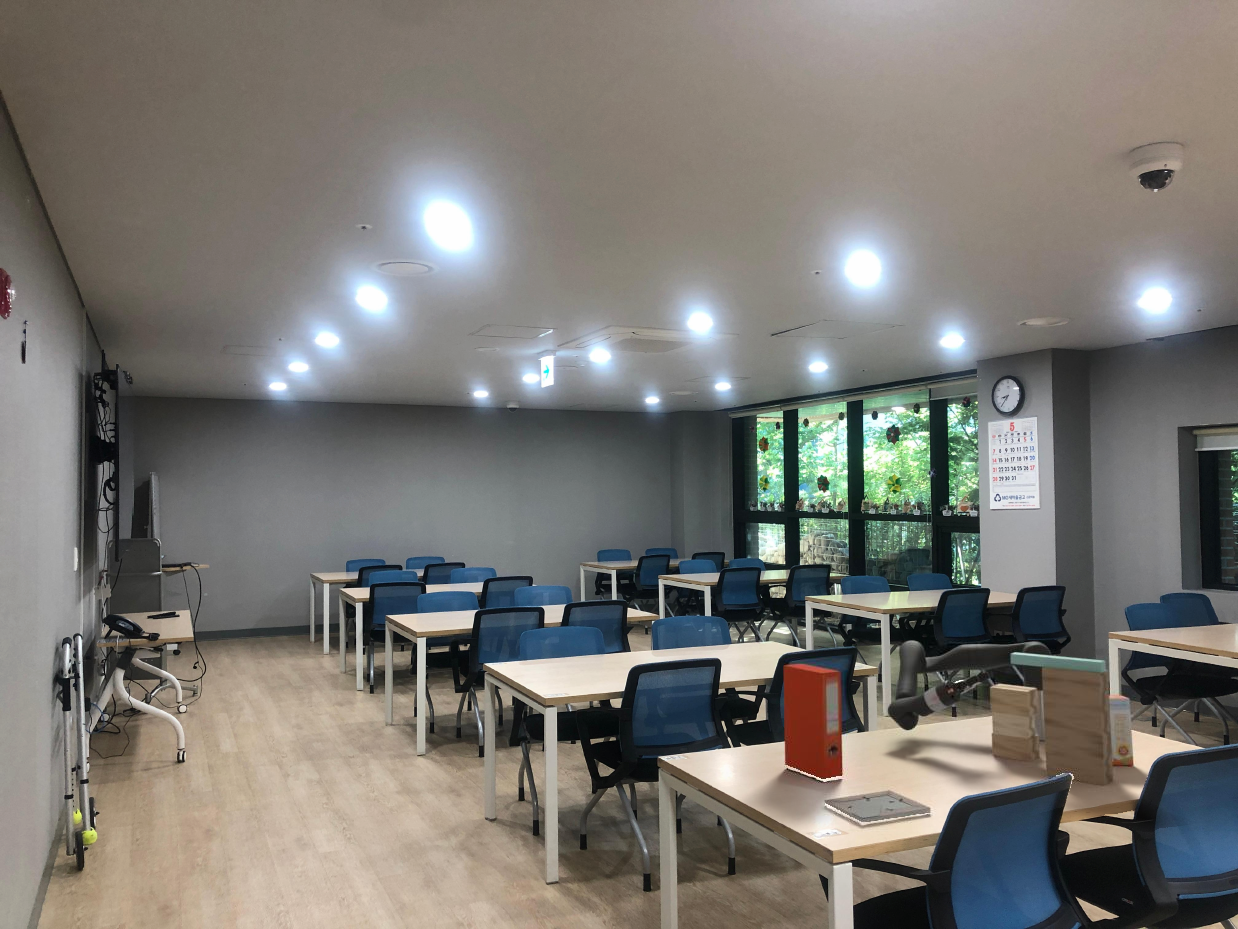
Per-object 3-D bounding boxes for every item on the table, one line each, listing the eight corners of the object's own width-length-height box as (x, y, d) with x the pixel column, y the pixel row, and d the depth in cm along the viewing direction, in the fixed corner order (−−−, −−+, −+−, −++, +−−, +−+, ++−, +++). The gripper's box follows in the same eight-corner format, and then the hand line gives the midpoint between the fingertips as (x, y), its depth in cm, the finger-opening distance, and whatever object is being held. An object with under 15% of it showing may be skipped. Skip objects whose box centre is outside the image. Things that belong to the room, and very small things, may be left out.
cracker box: (1125, 761, 280) (1121, 694, 281) (1134, 766, 274) (1130, 698, 275) (1079, 760, 281) (1076, 694, 283) (1087, 765, 275) (1084, 697, 277)
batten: (1015, 662, 279) (1015, 652, 279) (1105, 671, 261) (1105, 660, 261) (1010, 663, 276) (1010, 653, 276) (1101, 672, 258) (1101, 662, 258)
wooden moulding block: (1055, 769, 271) (1051, 664, 273) (1113, 780, 260) (1107, 670, 262) (1046, 775, 266) (1041, 667, 268) (1104, 786, 254) (1099, 673, 257)
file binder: (805, 765, 279) (802, 663, 281) (843, 779, 264) (840, 671, 266) (785, 769, 275) (782, 665, 277) (822, 783, 260) (820, 673, 262)
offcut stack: (1002, 750, 295) (999, 683, 296) (1039, 757, 286) (1036, 688, 288) (992, 755, 289) (989, 687, 290) (1030, 762, 280) (1027, 691, 282)
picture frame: (862, 828, 224) (930, 816, 231) (862, 818, 224) (930, 807, 232) (824, 808, 239) (889, 798, 247) (824, 799, 239) (889, 789, 247)
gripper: (957, 703, 297) (998, 684, 288) (938, 710, 287) (980, 690, 277) (945, 682, 300) (986, 662, 291) (926, 688, 290) (967, 668, 280)
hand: (983, 676), depth 284 cm, fingers open, 8 cm apart
